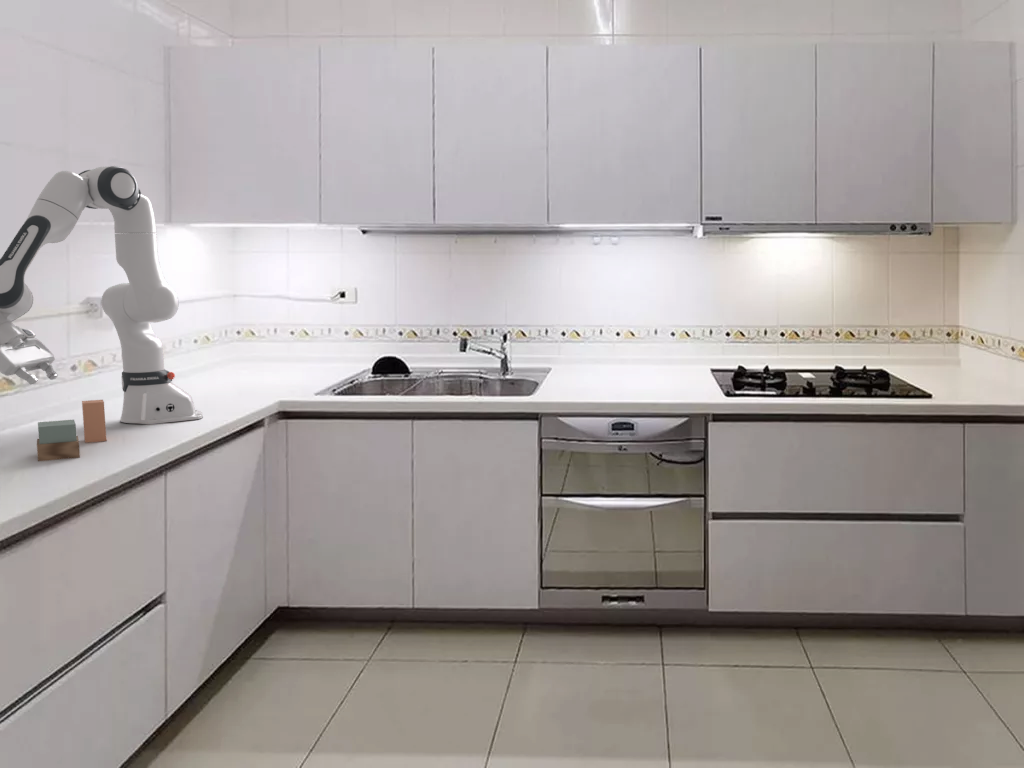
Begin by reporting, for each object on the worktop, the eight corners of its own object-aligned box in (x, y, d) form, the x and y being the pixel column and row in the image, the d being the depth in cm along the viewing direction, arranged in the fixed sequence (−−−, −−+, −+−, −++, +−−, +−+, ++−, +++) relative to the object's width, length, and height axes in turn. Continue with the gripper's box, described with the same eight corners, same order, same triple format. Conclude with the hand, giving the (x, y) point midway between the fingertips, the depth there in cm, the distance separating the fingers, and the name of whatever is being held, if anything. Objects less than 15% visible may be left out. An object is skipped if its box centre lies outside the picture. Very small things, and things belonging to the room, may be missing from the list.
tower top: (75, 435, 254) (74, 419, 254) (76, 441, 247) (75, 424, 246) (39, 438, 251) (37, 422, 250) (39, 444, 244) (38, 427, 243)
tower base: (79, 451, 255) (77, 435, 255) (80, 458, 247) (78, 441, 246) (38, 455, 252) (37, 438, 251) (38, 462, 243) (36, 444, 243)
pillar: (105, 437, 272) (102, 399, 270) (106, 440, 267) (103, 402, 266) (84, 439, 270) (81, 401, 268) (85, 442, 265) (82, 403, 264)
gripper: (-11, 336, 257) (30, 376, 257) (35, 330, 277) (73, 367, 277) (-27, 354, 258) (14, 394, 258) (20, 347, 278) (58, 383, 278)
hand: (45, 380), depth 268 cm, fingers open, 8 cm apart
